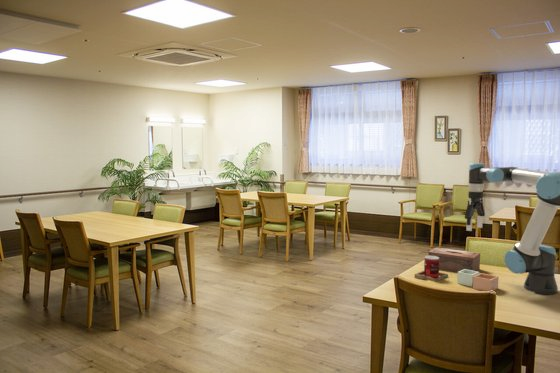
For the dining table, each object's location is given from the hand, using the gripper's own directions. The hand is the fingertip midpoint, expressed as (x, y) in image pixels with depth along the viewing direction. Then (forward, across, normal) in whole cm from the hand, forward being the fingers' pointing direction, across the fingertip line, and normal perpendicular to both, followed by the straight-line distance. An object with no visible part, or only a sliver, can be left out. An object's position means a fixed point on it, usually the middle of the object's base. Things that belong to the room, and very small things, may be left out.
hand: (474, 229), depth 266 cm
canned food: (+26, +19, -15) cm, 36 cm away
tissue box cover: (+27, -8, -15) cm, 32 cm away
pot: (+27, +19, +15) cm, 36 cm away
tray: (+27, +19, -15) cm, 36 cm away
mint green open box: (+27, +17, +5) cm, 32 cm away
